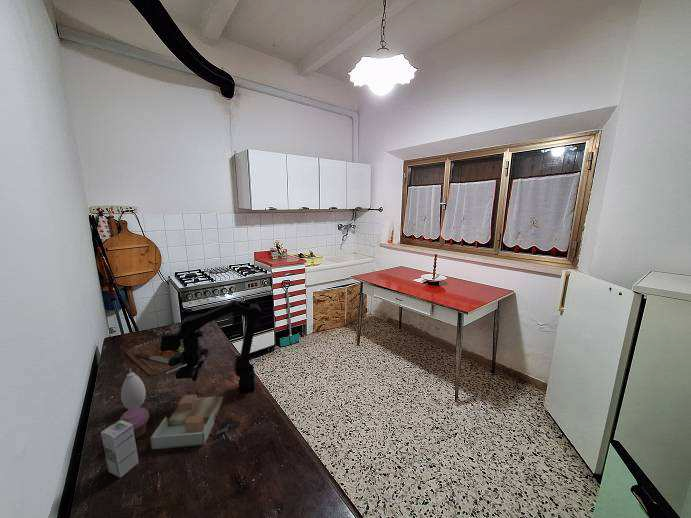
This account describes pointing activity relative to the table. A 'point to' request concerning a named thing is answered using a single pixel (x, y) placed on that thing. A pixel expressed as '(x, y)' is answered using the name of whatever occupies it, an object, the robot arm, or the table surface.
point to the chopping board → (153, 358)
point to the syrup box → (120, 448)
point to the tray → (179, 435)
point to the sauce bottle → (133, 391)
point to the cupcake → (136, 420)
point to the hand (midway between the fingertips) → (195, 380)
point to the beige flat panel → (197, 410)
